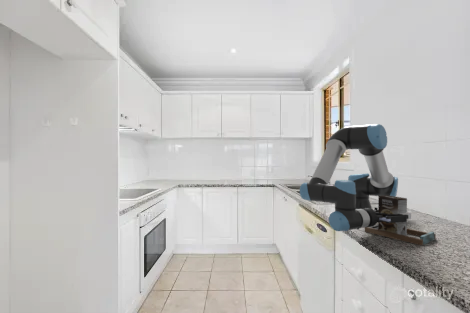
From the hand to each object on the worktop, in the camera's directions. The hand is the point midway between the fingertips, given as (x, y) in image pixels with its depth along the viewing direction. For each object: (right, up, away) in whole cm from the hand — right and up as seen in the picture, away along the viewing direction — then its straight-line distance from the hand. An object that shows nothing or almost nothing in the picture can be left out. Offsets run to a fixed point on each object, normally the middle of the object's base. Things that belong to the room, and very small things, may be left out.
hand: (399, 213), depth 114 cm
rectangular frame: (-3, -8, -4) cm, 10 cm away
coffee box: (-4, -9, -2) cm, 10 cm away
